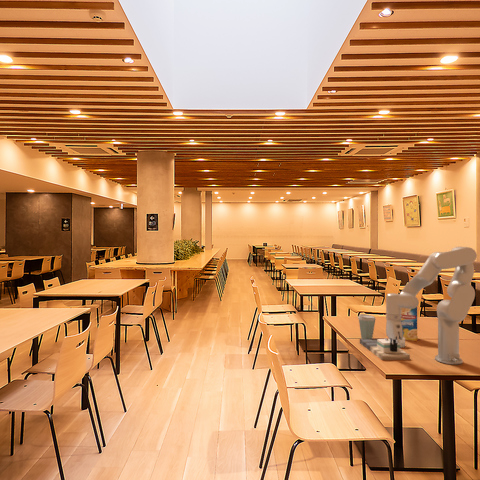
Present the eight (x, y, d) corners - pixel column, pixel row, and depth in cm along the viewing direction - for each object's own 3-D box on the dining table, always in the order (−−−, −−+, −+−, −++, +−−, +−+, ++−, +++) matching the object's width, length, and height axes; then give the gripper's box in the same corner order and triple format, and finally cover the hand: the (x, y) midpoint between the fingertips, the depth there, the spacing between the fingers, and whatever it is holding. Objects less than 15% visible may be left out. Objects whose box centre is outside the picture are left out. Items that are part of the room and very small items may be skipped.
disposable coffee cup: (371, 336, 242) (371, 313, 242) (378, 341, 231) (378, 317, 231) (355, 336, 241) (355, 313, 241) (361, 341, 231) (361, 317, 231)
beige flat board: (409, 359, 195) (409, 354, 195) (381, 360, 195) (381, 355, 195) (383, 342, 227) (383, 338, 227) (359, 342, 227) (359, 338, 227)
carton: (399, 352, 200) (399, 341, 200) (383, 352, 200) (383, 342, 200) (392, 347, 208) (392, 337, 208) (377, 348, 208) (377, 338, 208)
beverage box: (417, 340, 231) (417, 305, 231) (398, 339, 235) (398, 304, 235) (417, 338, 237) (417, 303, 237) (398, 336, 242) (398, 302, 242)
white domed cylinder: (407, 347, 217) (407, 339, 217) (395, 347, 217) (395, 339, 217) (401, 344, 224) (401, 335, 224) (390, 344, 224) (390, 336, 224)
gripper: (407, 319, 190) (407, 355, 190) (393, 314, 205) (393, 347, 205) (393, 320, 190) (393, 355, 190) (380, 314, 205) (380, 347, 205)
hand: (393, 351), depth 197 cm, fingers closed
